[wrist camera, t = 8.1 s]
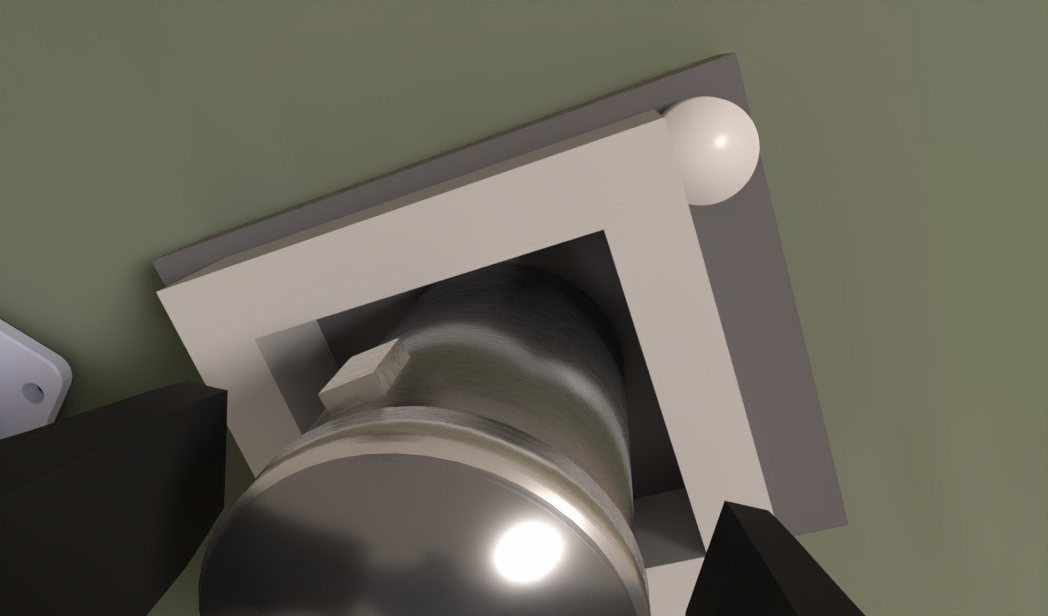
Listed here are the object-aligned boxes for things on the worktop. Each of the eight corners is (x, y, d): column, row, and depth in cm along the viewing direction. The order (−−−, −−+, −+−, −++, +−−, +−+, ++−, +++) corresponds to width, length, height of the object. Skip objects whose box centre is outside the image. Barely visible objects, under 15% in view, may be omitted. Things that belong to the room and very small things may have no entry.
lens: (667, 436, 13) (724, 774, 7) (453, 507, 14) (334, 854, 8) (566, 207, 11) (522, 364, 5) (341, 305, 13) (91, 527, 6)
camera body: (368, 575, 17) (307, 704, 13) (199, 240, 14) (73, 294, 11) (822, 477, 14) (889, 603, 11) (719, 54, 12) (764, 48, 8)
